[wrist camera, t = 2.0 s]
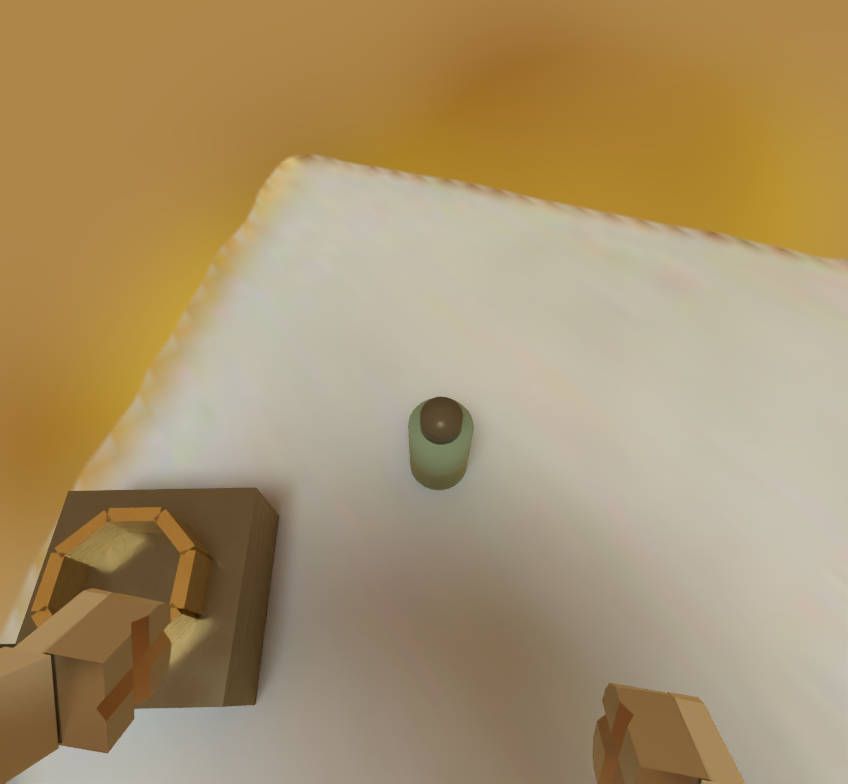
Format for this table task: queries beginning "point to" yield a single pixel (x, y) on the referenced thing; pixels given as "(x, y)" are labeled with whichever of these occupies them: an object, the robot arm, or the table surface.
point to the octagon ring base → (173, 579)
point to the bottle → (439, 442)
